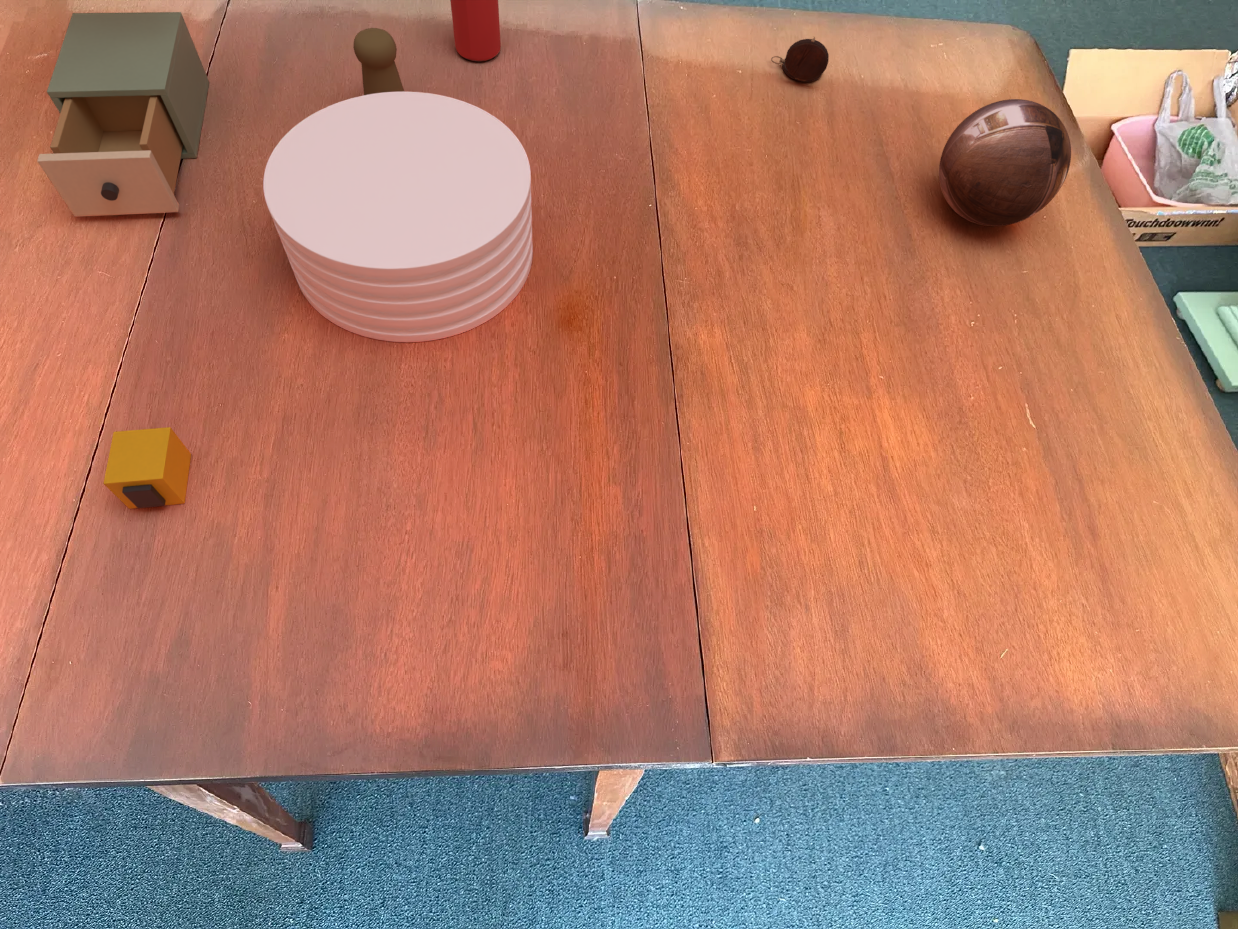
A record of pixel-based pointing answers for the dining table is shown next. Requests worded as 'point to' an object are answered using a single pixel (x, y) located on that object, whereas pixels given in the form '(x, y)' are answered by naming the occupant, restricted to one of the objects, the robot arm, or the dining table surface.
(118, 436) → the yellow block
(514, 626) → the dining table surface
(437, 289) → the plate stack
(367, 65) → the brown knobbed cone
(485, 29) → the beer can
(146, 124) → the drawer
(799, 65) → the compass
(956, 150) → the wooden sphere
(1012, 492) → the dining table surface
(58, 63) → the cabinet
